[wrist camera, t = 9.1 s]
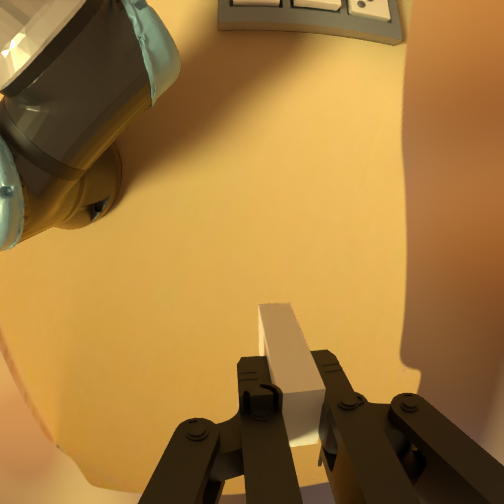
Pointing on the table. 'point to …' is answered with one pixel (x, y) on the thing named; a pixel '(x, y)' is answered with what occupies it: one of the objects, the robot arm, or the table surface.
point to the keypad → (311, 21)
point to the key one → (256, 3)
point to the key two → (319, 4)
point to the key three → (369, 9)
